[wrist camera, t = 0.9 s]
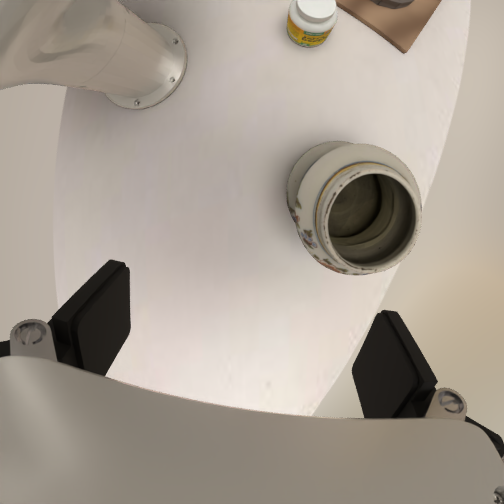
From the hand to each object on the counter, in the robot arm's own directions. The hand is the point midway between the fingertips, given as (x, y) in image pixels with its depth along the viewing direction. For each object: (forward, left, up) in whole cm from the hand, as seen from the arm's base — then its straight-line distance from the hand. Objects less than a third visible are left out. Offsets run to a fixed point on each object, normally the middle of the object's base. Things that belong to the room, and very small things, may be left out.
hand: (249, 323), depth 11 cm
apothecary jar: (+7, +5, -31) cm, 32 cm away
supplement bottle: (-7, +21, -31) cm, 38 cm away
